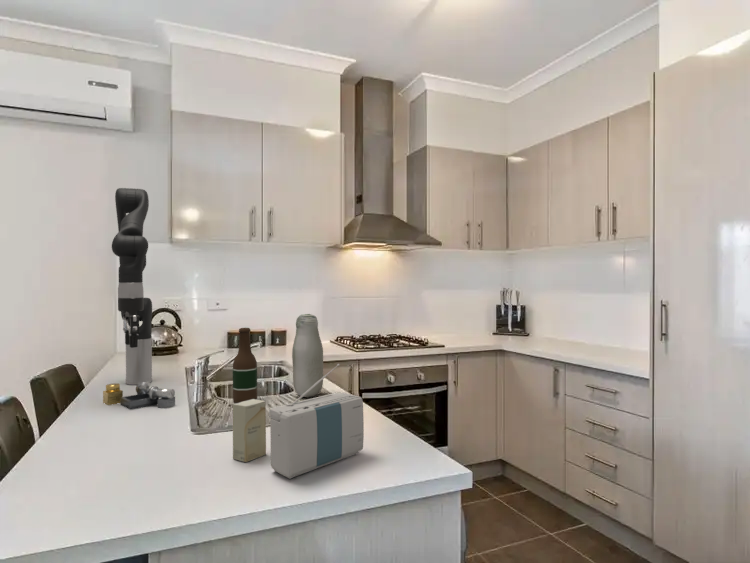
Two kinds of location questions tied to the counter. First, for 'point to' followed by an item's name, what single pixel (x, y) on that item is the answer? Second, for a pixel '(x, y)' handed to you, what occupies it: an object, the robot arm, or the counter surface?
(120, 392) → the gold square-based knob
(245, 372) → the beer bottle
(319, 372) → the grey bottle
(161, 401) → the shaft right
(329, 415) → the stereo radio cassette player
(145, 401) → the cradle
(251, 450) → the skincare box
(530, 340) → the counter surface
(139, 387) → the shaft left
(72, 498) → the counter surface
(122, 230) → the robot arm
